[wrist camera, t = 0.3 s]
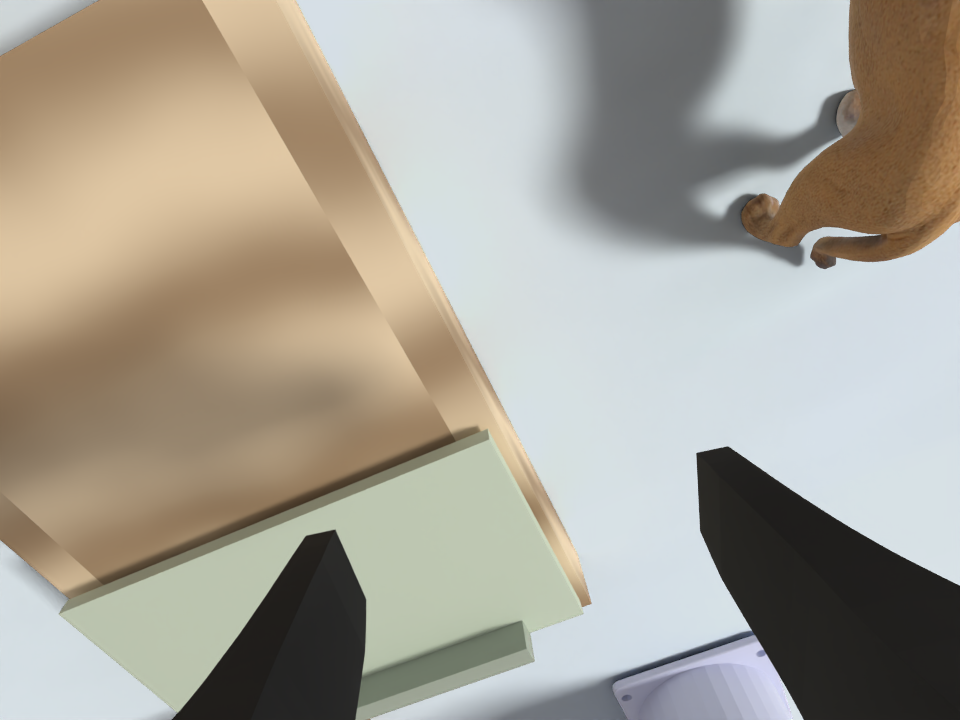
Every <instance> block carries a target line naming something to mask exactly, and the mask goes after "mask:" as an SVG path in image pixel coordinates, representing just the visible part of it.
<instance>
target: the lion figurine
mask: <svg viewBox="0 0 960 720" xmlns="http://www.w3.org/2000/svg"><path fill="white" fill-rule="evenodd" d="M849 62H850V68H851V75H852V81H853V85H854V87H855V90H852V91H850V92H848V93H847V94H846V95H845V96H844V98H843V99H842V101H841V102H840V104H839V107H838V110H837V117H836V122H837V127H838V129H839V131H840V133H841V134H842V136H843V138H841V139H840V140H838V141H837V142H835V143H834V144H832V145H831V146H829V147H828V148H827V149H825V150H824V151H822V152H821V153H820V154H819V155H818V156H817V157H816V158H815V159H813V160H812V161H811V162H810V163H809V164H808V165H807V166H806V167H804V169H803V170H802V171H801V172H800V173H799V174H798V175H797V177H796V178H795V179H794V181H793V182H792V184H791V186H790V188H789V189H788V191H787V192H786V195H785V197H784V199H783V201H782V203H781V205H779V202H778V200H777V199H776V198H773V197H771V196H769V195H767V194H759V195H758V196H757V197H756V198H754V199H751V200H750V201H749V202H748V203H747V204H746V206H745V207H744V208H743V210H742V214H741V219H742V223H743V225H744V227H745V229H746V230H747V231H748V232H749V233H750V234H752V235H753V236H755V237H757V238H758V239H761V240H763V241H767V242H770V243H773V244H776V245H780V246H785V247H793V246H797V245H798V244H799V243H800V242H801V240H802V239H803V237H804V236H805V235H806V234H807V233H808V232H810V231H813V230H816V229H819V228H822V227H838V228H843V229H848V230H852V231H857V232H861V233H867V234H881V235H877V236H864V237H823V238H820V239H819V240H818V241H817V242H816V243H815V244H814V246H813V249H812V252H811V255H810V258H811V259H812V260H814V261H815V263H816V265H817V266H818V267H819V268H822V269H827V268H829V267H832V266H834V265H836V257H837V258H843V259H848V260H853V261H862V262H879V261H887V260H892V259H896V258H899V257H903V256H906V255H910V254H912V253H914V252H916V251H918V250H920V249H922V248H923V247H925V246H926V245H928V244H929V243H931V242H932V241H934V240H935V239H937V238H938V237H939V236H940V235H942V234H943V233H944V232H945V231H946V230H947V229H948V228H949V227H950V226H951V225H952V224H954V223H956V222H959V221H960V0H850V10H849Z"/></svg>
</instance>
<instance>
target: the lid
mask: <svg viewBox="0 0 960 720" xmlns="http://www.w3.org/2000/svg"><path fill="white" fill-rule="evenodd" d="M330 530H336V532H337V534H338V536H339V539H340V541H341V543H342V545H343V548H344V550H345V552H346V554H347V557H348V559H349V561H350V563H351V566H352V568H353V570H354V573H355V575H356V577H357V579H358V582H359V584H360V586H361V588H362V591H363V593H364V595H365V597H366V644H365V657H364V664H363V672H362V679H361V686H360V693H359V700H358V706H357V713H356V720H367V719H370V718H373V717H376V716H379V715H382V714H385V713H387V712H390V711H393V710H396V709H399V708H402V707H405V706H408V705H411V704H413V703H416V702H419V701H422V700H425V699H428V698H431V697H434V696H436V695H439V694H442V693H445V692H448V691H451V690H454V689H457V688H460V687H462V686H465V685H468V684H471V683H474V682H477V681H480V680H483V679H485V678H488V677H491V676H494V675H497V674H500V673H503V672H506V671H509V670H511V669H514V668H517V667H520V666H523V665H526V664H529V663H532V662H534V661H535V660H534V654H533V648H532V642H531V636H530V633H531V632H534V631H537V630H539V629H542V628H545V627H548V626H551V625H554V624H556V623H559V622H562V621H565V620H568V619H571V618H573V617H576V616H579V615H582V614H583V610H582V606H581V603H580V600H579V598H578V596H577V594H576V592H575V591H574V589H573V587H572V585H571V583H570V581H569V579H568V577H567V576H566V574H565V572H564V570H563V568H562V566H561V564H560V563H559V561H558V559H557V557H556V555H555V553H554V551H553V549H552V548H551V546H550V544H549V542H548V540H547V538H546V536H545V535H544V533H543V531H542V529H541V527H540V525H539V523H538V521H537V520H536V518H535V516H534V514H533V512H532V510H531V508H530V506H529V505H528V503H527V501H526V499H525V497H524V495H523V493H522V492H521V490H520V488H519V486H518V484H517V482H516V480H515V478H514V477H513V475H512V473H511V471H510V469H509V467H508V465H507V464H506V462H505V460H504V458H503V456H502V454H501V452H500V450H499V449H498V447H497V445H496V443H495V441H494V439H493V437H492V436H491V434H490V432H489V430H488V429H486V430H483V431H481V432H478V433H476V434H473V435H471V436H468V437H466V438H463V439H461V440H459V441H456V442H454V443H451V444H449V445H446V446H444V447H441V448H439V449H437V450H434V451H432V452H429V453H427V454H424V455H422V456H419V457H417V458H414V459H412V460H410V461H407V462H405V463H402V464H400V465H397V466H395V467H392V468H390V469H388V470H385V471H383V472H380V473H378V474H375V475H373V476H370V477H368V478H365V479H363V480H361V481H358V482H356V483H353V484H351V485H348V486H346V487H343V488H341V489H339V490H336V491H334V492H331V493H329V494H326V495H324V496H321V497H319V498H316V499H314V500H312V501H309V502H307V503H304V504H302V505H299V506H297V507H294V508H292V509H290V510H287V511H285V512H282V513H280V514H277V515H275V516H272V517H270V518H267V519H265V520H263V521H260V522H258V523H255V524H253V525H250V526H248V527H245V528H243V529H241V530H238V531H236V532H233V533H231V534H228V535H226V536H223V537H221V538H218V539H216V540H214V541H211V542H209V543H206V544H204V545H201V546H199V547H196V548H194V549H192V550H189V551H187V552H184V553H182V554H179V555H177V556H174V557H172V558H169V559H167V560H165V561H162V562H160V563H157V564H155V565H152V566H150V567H147V568H145V569H143V570H140V571H138V572H135V573H133V574H130V575H128V576H125V577H123V578H120V579H118V580H116V581H113V582H111V583H108V584H106V585H103V586H101V587H98V588H96V589H94V590H91V591H89V592H86V593H84V594H81V595H79V596H76V597H74V598H71V599H69V600H68V601H67V602H66V604H65V605H64V607H63V608H62V610H61V611H60V613H59V615H60V616H61V617H63V618H64V619H65V620H66V621H67V622H69V623H70V624H71V625H72V626H73V627H75V628H76V629H77V630H78V631H79V632H81V633H82V634H83V635H84V636H85V637H87V638H88V639H89V640H90V641H91V642H93V643H94V644H95V645H96V646H98V647H99V648H100V649H101V650H102V651H104V652H105V653H106V654H107V655H108V656H110V657H111V658H112V659H113V660H114V661H116V662H117V663H118V664H119V665H120V666H122V667H123V668H124V669H125V670H126V671H128V672H129V673H130V674H131V675H132V676H134V677H135V678H136V679H137V680H138V681H140V682H141V683H142V684H143V685H144V686H146V687H147V688H148V689H149V690H151V691H152V692H153V693H154V694H155V695H157V696H158V697H159V698H160V699H161V700H163V701H164V702H165V703H166V704H167V705H169V706H170V707H171V708H172V709H173V710H175V711H176V712H177V713H178V712H179V711H180V710H181V709H182V707H183V706H184V705H185V704H186V703H187V701H188V700H189V699H190V698H191V697H192V695H193V694H194V693H195V692H196V691H197V689H198V688H199V687H200V686H201V684H202V683H203V682H204V680H205V679H206V678H207V677H208V675H209V674H210V673H211V671H212V670H213V669H214V667H215V666H216V665H217V663H218V662H219V661H220V659H221V658H222V657H223V655H224V654H225V653H226V651H227V650H228V649H229V647H230V646H231V645H232V643H233V642H234V640H235V639H236V638H237V636H238V635H239V634H240V632H241V631H242V629H243V628H244V627H245V625H246V624H247V622H248V621H249V619H250V618H251V616H252V615H253V614H254V612H255V611H256V609H257V608H258V606H259V605H260V603H261V602H262V600H263V599H264V598H265V596H266V595H267V593H268V592H269V590H270V589H271V587H272V585H273V584H274V582H275V581H276V579H277V578H278V576H279V575H280V573H281V572H282V570H283V569H284V567H285V566H286V564H287V563H288V561H289V560H290V558H291V557H292V555H293V554H294V552H295V551H296V549H297V548H298V546H299V545H300V544H301V542H302V541H303V539H304V538H305V536H307V535H311V534H316V533H321V532H326V531H330Z"/></svg>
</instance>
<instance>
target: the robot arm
mask: <svg viewBox="0 0 960 720" xmlns="http://www.w3.org/2000/svg"><path fill="white" fill-rule="evenodd" d="M696 454H697V474H698V495H699V515H700V531H701V534H702V536H703V538H704V541H705V543H706V545H707V547H708V550H709V552H710V554H711V557H712V559H713V561H714V563H715V565H716V567H717V570H718V572H719V574H720V576H721V578H722V580H723V582H724V584H725V585H726V587H727V589H728V591H729V592H730V594H731V596H732V597H733V599H734V601H735V602H736V604H737V606H738V608H739V609H740V611H741V613H742V614H743V616H744V618H745V619H746V621H747V623H748V624H749V626H750V628H751V629H752V631H753V633H754V634H755V635H752V636H749V637H746V638H743V639H741V640H738V641H735V642H732V643H729V644H726V645H723V646H720V647H717V648H714V649H711V650H708V651H705V652H702V653H699V654H696V655H693V656H690V657H687V658H684V659H681V660H678V661H675V662H672V663H669V664H666V665H663V666H660V667H657V668H654V669H651V670H648V671H645V672H642V673H639V674H636V675H633V676H630V677H627V678H624V679H621V680H619V681H616V682H615V683H614V684H613V686H612V688H613V692H614V695H615V697H616V699H617V701H618V703H619V704H620V706H621V708H622V710H623V711H624V713H625V715H626V717H627V719H628V720H793V718H792V714H791V711H790V708H789V705H788V702H787V699H786V695H785V692H784V689H783V686H782V683H781V680H780V678H781V679H782V681H783V683H784V684H785V686H786V688H787V690H788V691H789V693H790V695H791V697H792V699H793V700H794V702H795V704H796V706H797V708H798V710H799V711H800V713H801V715H802V717H803V719H804V720H960V586H959V585H957V584H955V583H953V582H951V581H949V580H947V579H945V578H943V577H941V576H939V575H937V574H935V573H933V572H931V571H929V570H927V569H925V568H923V567H921V566H919V565H917V564H915V563H913V562H911V561H909V560H907V559H905V558H903V557H901V556H900V555H898V554H896V553H894V552H892V551H890V550H888V549H887V548H885V547H883V546H881V545H879V544H878V543H876V542H874V541H873V540H871V539H869V538H867V537H866V536H864V535H862V534H860V533H859V532H857V531H855V530H853V529H852V528H850V527H848V526H847V525H845V524H843V523H842V522H840V521H839V520H837V519H835V518H834V517H832V516H831V515H829V514H827V513H826V512H824V511H823V510H821V509H820V508H818V507H817V506H815V505H813V504H812V503H810V502H809V501H807V500H806V499H804V498H802V497H801V496H799V495H798V494H796V493H795V492H794V491H792V490H791V489H789V488H788V487H786V486H785V485H783V484H782V483H780V482H779V481H777V480H776V479H774V478H773V477H771V476H770V475H769V474H767V473H766V472H764V471H763V470H761V469H760V468H759V467H757V466H756V465H754V464H753V463H751V462H750V461H749V460H747V459H746V458H744V457H743V456H741V455H740V454H738V453H737V452H735V451H734V450H732V449H731V448H730V447H723V448H718V449H713V450H709V451H704V452H699V453H696ZM365 644H366V597H365V595H364V593H363V591H362V588H361V586H360V584H359V582H358V579H357V577H356V575H355V573H354V570H353V568H352V566H351V563H350V561H349V559H348V557H347V554H346V552H345V550H344V548H343V545H342V543H341V541H340V539H339V536H338V534H337V532H336V530H330V531H326V532H321V533H316V534H311V535H307V536H305V538H304V539H303V541H302V542H301V544H300V545H299V546H298V548H297V549H296V551H295V552H294V554H293V555H292V557H291V558H290V560H289V561H288V563H287V564H286V566H285V567H284V569H283V570H282V572H281V573H280V575H279V576H278V578H277V579H276V581H275V582H274V584H273V585H272V587H271V589H270V590H269V592H268V593H267V595H266V596H265V598H264V599H263V600H262V602H261V603H260V605H259V606H258V608H257V609H256V611H255V612H254V614H253V615H252V616H251V618H250V619H249V621H248V622H247V624H246V625H245V627H244V628H243V629H242V631H241V632H240V634H239V635H238V636H237V638H236V639H235V640H234V642H233V643H232V645H231V646H230V647H229V649H228V650H227V651H226V653H225V654H224V655H223V657H222V658H221V659H220V661H219V662H218V663H217V665H216V666H215V667H214V669H213V670H212V671H211V673H210V674H209V675H208V677H207V678H206V679H205V680H204V682H203V683H202V684H201V686H200V687H199V688H198V689H197V691H196V692H195V693H194V694H193V695H192V697H191V698H190V699H189V700H188V701H187V703H186V704H185V705H184V706H183V707H182V709H181V710H180V711H179V712H178V713H177V714H176V716H175V717H174V718H173V719H172V720H356V713H357V706H358V700H359V693H360V686H361V679H362V672H363V664H364V657H365Z"/></svg>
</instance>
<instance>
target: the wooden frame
mask: <svg viewBox="0 0 960 720" xmlns="http://www.w3.org/2000/svg"><path fill="white" fill-rule="evenodd" d="M486 429H488V430H489V432H490V434H491V436H492V437H493V439H494V441H495V443H496V445H497V447H498V449H499V450H500V452H501V454H502V456H503V458H504V460H505V462H506V464H507V465H508V467H509V469H510V471H511V473H512V475H513V477H514V478H515V480H516V482H517V484H518V486H519V488H520V490H521V492H522V493H523V495H524V497H525V499H526V501H527V503H528V505H529V506H530V508H531V510H532V512H533V514H534V516H535V518H536V520H537V521H538V523H539V525H540V527H541V529H542V531H543V533H544V535H545V536H546V538H547V540H548V542H549V544H550V546H551V548H552V549H553V551H554V553H555V555H556V557H557V559H558V561H559V563H560V564H561V566H562V568H563V570H564V572H565V574H566V576H567V577H568V579H569V581H570V583H571V585H572V587H573V589H574V591H575V592H576V594H577V596H578V598H579V600H580V603H581V606H582V607H584V606H587V605H589V604H592V603H591V600H590V596H589V593H588V589H587V586H586V582H585V579H584V575H583V572H582V568H581V565H580V561H579V558H578V554H577V552H576V550H575V548H574V546H573V545H572V543H571V541H570V539H569V537H568V535H567V533H566V531H565V529H564V527H563V525H562V523H561V521H560V519H559V517H558V515H557V513H556V511H555V509H554V507H553V505H552V503H551V501H550V499H549V497H548V495H547V493H546V491H545V490H544V488H543V486H542V484H541V482H540V480H539V478H538V476H537V474H536V472H535V470H534V468H533V466H532V464H531V462H530V460H529V458H528V456H527V454H526V452H525V450H524V448H523V446H522V444H521V442H520V440H519V438H518V436H517V434H516V433H515V431H514V429H513V427H512V425H511V423H510V421H509V419H508V417H507V415H506V413H505V411H504V409H503V407H502V405H501V403H500V401H499V399H498V397H497V395H496V393H495V391H494V389H493V387H492V385H491V383H490V381H489V379H488V378H487V376H486V374H485V372H484V370H483V368H482V366H481V364H480V362H479V360H478V358H477V356H476V354H475V352H474V350H473V348H472V346H471V344H470V342H469V340H468V338H467V336H466V334H465V332H464V330H463V328H462V326H461V324H460V323H459V321H458V319H457V317H456V315H455V313H454V311H453V309H452V307H451V305H450V303H449V301H448V299H447V297H446V295H445V293H444V291H443V289H442V287H441V285H440V283H439V281H438V279H437V277H436V275H435V273H434V271H433V269H432V268H431V266H430V264H429V262H428V260H427V258H426V256H425V254H424V252H423V250H422V248H421V246H420V244H419V242H418V240H417V238H416V236H415V234H414V232H413V230H412V228H411V226H410V224H409V222H408V220H407V218H406V216H405V214H404V213H403V211H402V209H401V207H400V205H399V203H398V201H397V199H396V197H395V195H394V193H393V191H392V189H391V187H390V185H389V183H388V181H387V179H386V177H385V175H384V173H383V171H382V169H381V167H380V165H379V163H378V161H377V159H376V157H375V156H374V154H373V152H372V150H371V148H370V146H369V144H368V142H367V140H366V138H365V136H364V134H363V132H362V130H361V128H360V126H359V124H358V122H357V120H356V118H355V116H354V114H353V112H352V110H351V108H350V106H349V104H348V102H347V101H346V99H345V97H344V95H343V93H342V91H341V89H340V87H339V85H338V83H337V81H336V79H335V77H334V75H333V73H332V71H331V69H330V67H329V65H328V63H327V61H326V59H325V57H324V55H323V53H322V51H321V49H320V47H319V46H318V44H317V42H316V40H315V38H314V36H313V34H312V32H311V30H310V28H309V26H308V24H307V22H306V20H305V18H304V16H303V14H302V12H301V10H300V8H299V6H298V4H297V2H296V0H99V1H97V2H95V3H93V4H92V5H90V6H88V7H86V8H84V9H83V10H81V11H79V12H77V13H76V14H74V15H72V16H70V17H69V18H67V19H65V20H63V21H62V22H60V23H58V24H56V25H55V26H53V27H51V28H49V29H48V30H46V31H44V32H42V33H40V34H39V35H37V36H35V37H33V38H32V39H30V40H28V41H26V42H25V43H23V44H21V45H19V46H18V47H16V48H14V49H12V50H11V51H9V52H7V53H5V54H3V55H2V56H0V540H1V541H2V542H3V543H5V544H6V545H7V546H8V547H9V548H10V549H12V550H13V551H14V552H15V553H16V554H17V555H19V556H20V557H21V558H22V559H23V560H24V561H26V562H27V563H28V564H29V565H30V566H31V567H33V568H34V569H35V570H36V571H37V572H38V573H40V574H41V575H42V576H43V577H44V578H45V579H47V580H48V581H49V582H50V583H51V584H52V585H54V586H55V587H56V588H57V589H58V590H59V591H61V592H62V593H63V594H64V595H65V596H66V597H68V598H69V599H71V598H74V597H76V596H79V595H81V594H84V593H86V592H89V591H91V590H94V589H96V588H98V587H101V586H103V585H106V584H108V583H111V582H113V581H116V580H118V579H120V578H123V577H125V576H128V575H130V574H133V573H135V572H138V571H140V570H143V569H145V568H147V567H150V566H152V565H155V564H157V563H160V562H162V561H165V560H167V559H169V558H172V557H174V556H177V555H179V554H182V553H184V552H187V551H189V550H192V549H194V548H196V547H199V546H201V545H204V544H206V543H209V542H211V541H214V540H216V539H218V538H221V537H223V536H226V535H228V534H231V533H233V532H236V531H238V530H241V529H243V528H245V527H248V526H250V525H253V524H255V523H258V522H260V521H263V520H265V519H267V518H270V517H272V516H275V515H277V514H280V513H282V512H285V511H287V510H290V509H292V508H294V507H297V506H299V505H302V504H304V503H307V502H309V501H312V500H314V499H316V498H319V497H321V496H324V495H326V494H329V493H331V492H334V491H336V490H339V489H341V488H343V487H346V486H348V485H351V484H353V483H356V482H358V481H361V480H363V479H365V478H368V477H370V476H373V475H375V474H378V473H380V472H383V471H385V470H388V469H390V468H392V467H395V466H397V465H400V464H402V463H405V462H407V461H410V460H412V459H414V458H417V457H419V456H422V455H424V454H427V453H429V452H432V451H434V450H437V449H439V448H441V447H444V446H446V445H449V444H451V443H454V442H456V441H459V440H461V439H463V438H466V437H468V436H471V435H473V434H476V433H478V432H481V431H483V430H486Z"/></svg>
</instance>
